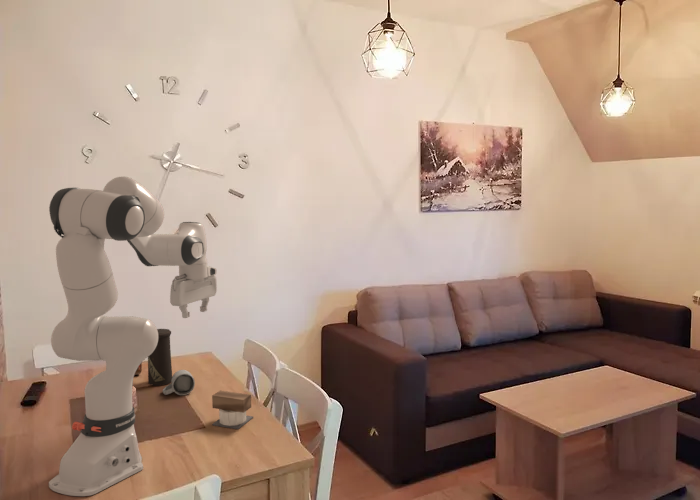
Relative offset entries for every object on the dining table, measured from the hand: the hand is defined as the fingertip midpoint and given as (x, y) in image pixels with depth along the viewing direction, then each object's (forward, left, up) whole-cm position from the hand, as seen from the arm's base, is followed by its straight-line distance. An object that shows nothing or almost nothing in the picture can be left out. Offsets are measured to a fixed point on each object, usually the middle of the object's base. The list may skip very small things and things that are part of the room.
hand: (195, 314), depth 178 cm
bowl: (-6, -17, -31) cm, 36 cm away
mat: (-6, -17, -31) cm, 36 cm away
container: (+16, +28, -31) cm, 45 cm away
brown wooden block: (-6, -17, -27) cm, 32 cm away
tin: (+22, +46, -31) cm, 60 cm away
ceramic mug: (+9, +15, -31) cm, 36 cm away
